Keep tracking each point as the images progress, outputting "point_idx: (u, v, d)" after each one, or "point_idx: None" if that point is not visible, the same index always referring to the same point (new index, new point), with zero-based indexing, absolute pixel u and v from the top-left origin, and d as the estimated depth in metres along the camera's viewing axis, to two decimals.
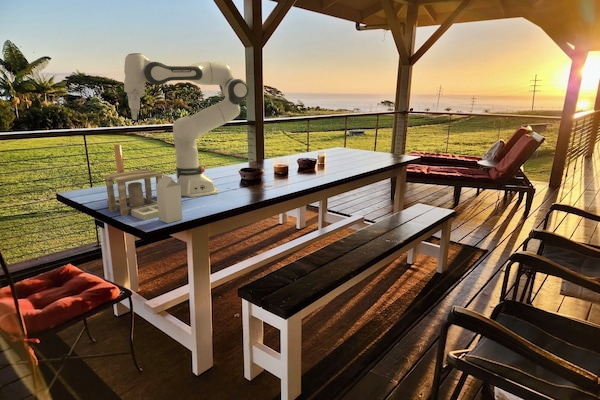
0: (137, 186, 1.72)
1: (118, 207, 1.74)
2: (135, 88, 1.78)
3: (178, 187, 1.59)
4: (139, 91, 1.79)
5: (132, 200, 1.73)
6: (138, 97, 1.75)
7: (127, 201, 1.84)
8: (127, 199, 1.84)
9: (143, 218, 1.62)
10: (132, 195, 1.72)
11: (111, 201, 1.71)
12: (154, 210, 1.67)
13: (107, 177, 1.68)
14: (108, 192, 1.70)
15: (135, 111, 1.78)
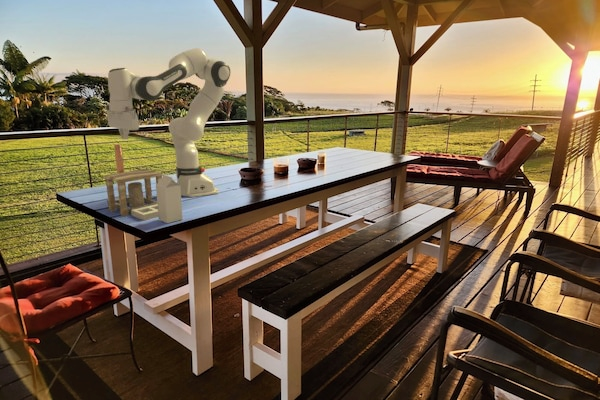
0: (137, 186, 1.72)
1: (118, 207, 1.74)
2: (127, 106, 1.65)
3: (178, 187, 1.59)
4: None
5: (132, 200, 1.73)
6: (136, 116, 1.64)
7: (127, 201, 1.84)
8: (127, 199, 1.84)
9: (143, 218, 1.62)
10: (132, 195, 1.72)
11: (111, 201, 1.71)
12: (154, 210, 1.67)
13: (107, 177, 1.68)
14: (108, 192, 1.70)
15: (127, 130, 1.69)
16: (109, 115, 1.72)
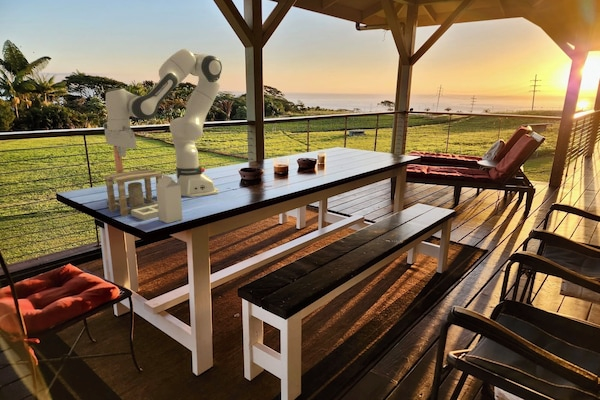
0: (137, 186, 1.72)
1: (117, 207, 1.74)
2: (124, 125, 1.70)
3: (178, 187, 1.59)
4: None
5: (132, 200, 1.73)
6: (133, 134, 1.69)
7: (126, 201, 1.84)
8: (126, 199, 1.84)
9: (143, 218, 1.62)
10: (132, 195, 1.72)
11: (111, 201, 1.71)
12: (154, 210, 1.67)
13: (107, 177, 1.68)
14: (108, 192, 1.70)
15: (124, 148, 1.74)
16: (107, 133, 1.76)
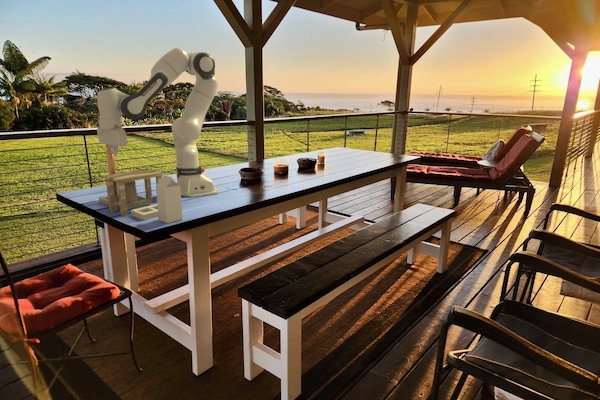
0: (130, 184, 1.76)
1: None
2: (116, 124, 1.74)
3: (178, 187, 1.59)
4: (119, 126, 1.76)
5: None
6: (124, 133, 1.73)
7: (118, 198, 1.89)
8: (118, 196, 1.88)
9: (143, 218, 1.62)
10: (125, 193, 1.76)
11: (111, 201, 1.71)
12: (154, 210, 1.67)
13: (107, 177, 1.68)
14: (108, 192, 1.70)
15: (116, 146, 1.78)
16: (99, 132, 1.81)
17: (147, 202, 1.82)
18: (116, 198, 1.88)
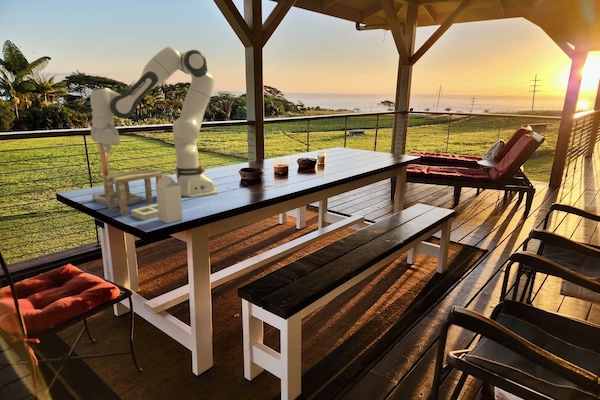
0: None
1: (102, 201, 1.82)
2: (108, 123, 1.78)
3: (178, 187, 1.59)
4: (112, 125, 1.80)
5: (118, 195, 1.81)
6: (117, 132, 1.77)
7: None
8: None
9: (143, 218, 1.62)
10: None
11: (111, 201, 1.71)
12: (154, 210, 1.67)
13: (107, 177, 1.68)
14: (108, 192, 1.70)
15: (109, 145, 1.82)
16: (92, 131, 1.85)
17: (139, 199, 1.86)
18: None
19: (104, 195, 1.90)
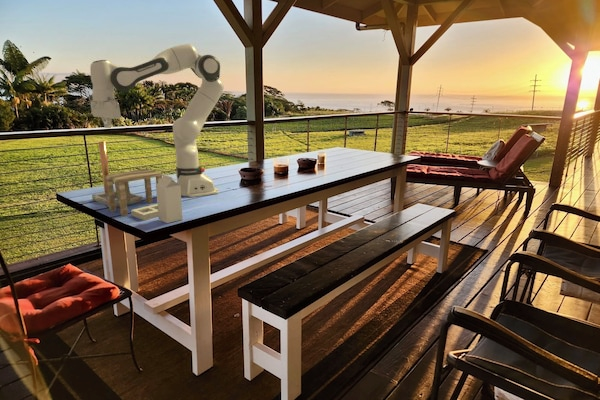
0: None
1: (102, 201, 1.82)
2: (109, 96, 1.75)
3: (178, 187, 1.59)
4: None
5: (118, 195, 1.81)
6: (118, 105, 1.74)
7: None
8: None
9: (143, 218, 1.62)
10: None
11: (111, 201, 1.71)
12: (154, 210, 1.67)
13: (107, 177, 1.68)
14: (108, 192, 1.70)
15: (109, 119, 1.79)
16: (93, 105, 1.82)
17: (139, 199, 1.86)
18: None
19: (104, 195, 1.90)
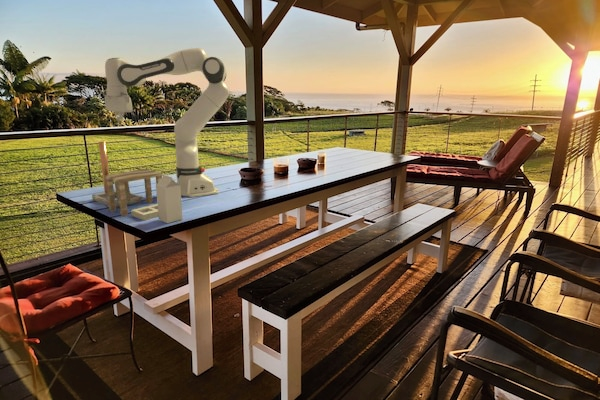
0: None
1: (102, 201, 1.82)
2: (122, 91, 1.90)
3: (178, 187, 1.59)
4: None
5: (118, 195, 1.81)
6: (130, 99, 1.88)
7: None
8: None
9: (143, 218, 1.62)
10: None
11: (111, 201, 1.71)
12: (154, 210, 1.67)
13: (107, 177, 1.68)
14: (108, 192, 1.70)
15: (122, 112, 1.93)
16: (106, 100, 1.96)
17: (139, 199, 1.86)
18: None
19: (104, 195, 1.90)
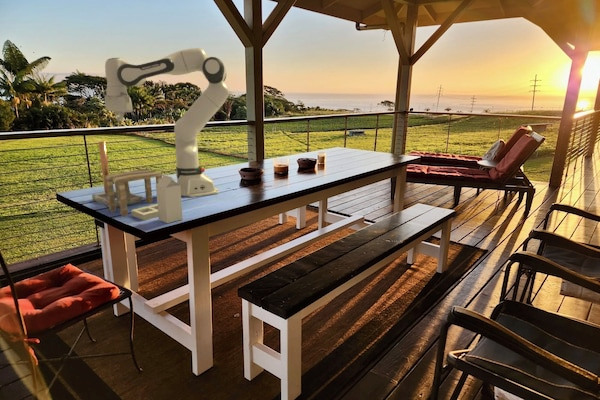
0: None
1: (102, 201, 1.82)
2: (122, 91, 1.90)
3: (178, 187, 1.59)
4: None
5: (118, 195, 1.81)
6: (130, 99, 1.88)
7: None
8: None
9: (143, 218, 1.62)
10: None
11: (111, 201, 1.71)
12: (154, 210, 1.67)
13: (107, 177, 1.68)
14: (108, 192, 1.70)
15: (122, 112, 1.93)
16: (106, 100, 1.96)
17: (139, 199, 1.86)
18: None
19: (104, 195, 1.90)
